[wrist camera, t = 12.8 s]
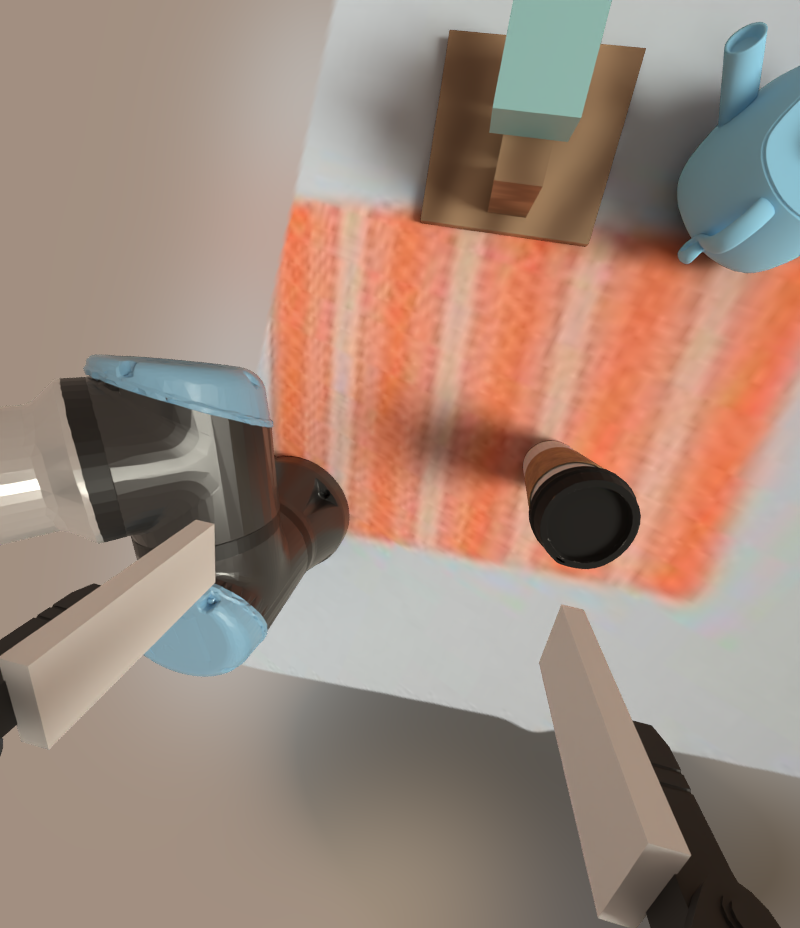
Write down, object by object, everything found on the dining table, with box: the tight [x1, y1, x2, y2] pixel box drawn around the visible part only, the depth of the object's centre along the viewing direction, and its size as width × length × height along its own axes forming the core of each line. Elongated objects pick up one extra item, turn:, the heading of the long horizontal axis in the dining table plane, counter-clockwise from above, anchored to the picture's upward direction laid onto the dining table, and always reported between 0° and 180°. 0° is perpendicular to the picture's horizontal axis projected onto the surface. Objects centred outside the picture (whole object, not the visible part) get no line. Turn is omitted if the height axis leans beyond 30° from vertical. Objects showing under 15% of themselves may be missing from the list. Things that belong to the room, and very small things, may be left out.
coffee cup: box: [523, 441, 641, 569], centre depth 36 cm, size 8×8×15 cm
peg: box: [489, 0, 612, 142], centre depth 28 cm, size 6×6×10 cm
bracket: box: [421, 30, 646, 247], centre depth 30 cm, size 16×14×9 cm
